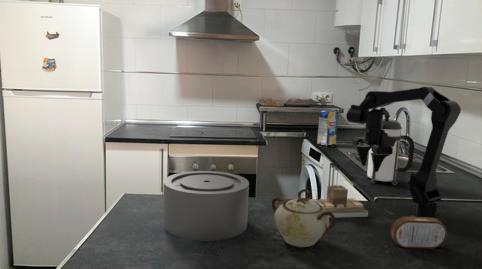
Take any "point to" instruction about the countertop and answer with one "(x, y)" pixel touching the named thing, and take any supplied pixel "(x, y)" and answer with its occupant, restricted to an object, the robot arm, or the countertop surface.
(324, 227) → the sugar bowl
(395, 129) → the coffee press
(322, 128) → the beverage box
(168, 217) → the container
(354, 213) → the dock
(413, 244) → the tin
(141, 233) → the countertop surface
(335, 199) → the brown wooden cube
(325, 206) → the pallet
